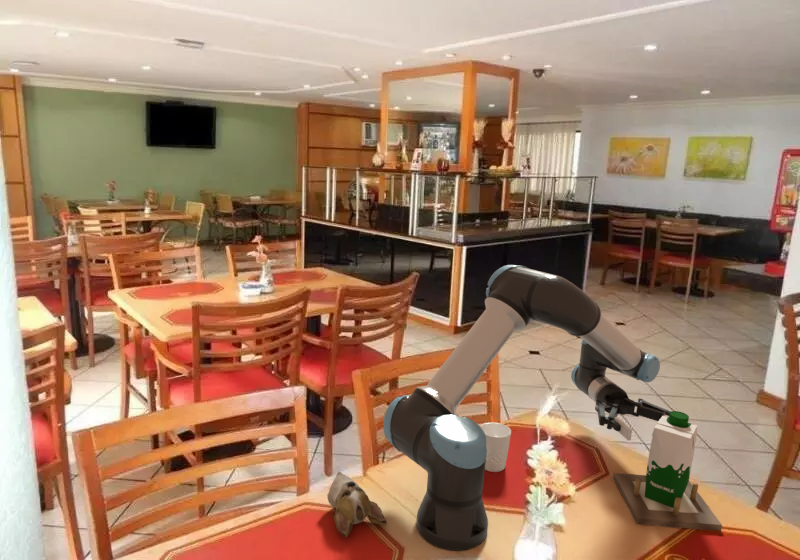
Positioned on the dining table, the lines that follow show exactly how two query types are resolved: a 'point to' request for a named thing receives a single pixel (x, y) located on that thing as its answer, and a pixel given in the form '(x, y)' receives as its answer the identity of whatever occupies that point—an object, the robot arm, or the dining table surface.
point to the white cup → (496, 445)
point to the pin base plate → (650, 512)
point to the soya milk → (670, 458)
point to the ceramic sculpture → (351, 504)
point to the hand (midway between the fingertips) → (655, 433)
